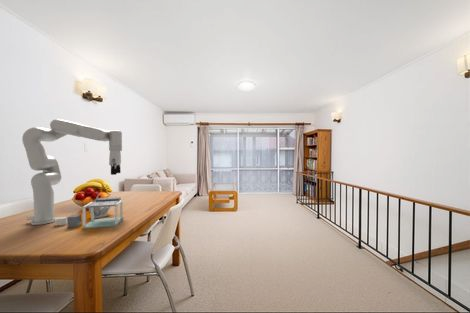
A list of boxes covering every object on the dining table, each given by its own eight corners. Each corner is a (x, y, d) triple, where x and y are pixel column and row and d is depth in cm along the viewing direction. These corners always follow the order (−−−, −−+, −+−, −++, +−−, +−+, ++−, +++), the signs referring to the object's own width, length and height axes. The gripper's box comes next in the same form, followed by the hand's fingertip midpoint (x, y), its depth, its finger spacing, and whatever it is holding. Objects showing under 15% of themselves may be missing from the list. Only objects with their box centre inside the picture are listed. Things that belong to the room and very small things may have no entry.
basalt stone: (67, 227, 120) (67, 217, 120) (71, 224, 125) (71, 214, 125) (77, 226, 122) (77, 216, 122) (81, 223, 127) (81, 214, 126)
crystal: (113, 214, 145) (113, 193, 145) (91, 219, 135) (91, 196, 134) (108, 212, 151) (108, 192, 151) (87, 216, 141) (86, 195, 141)
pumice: (55, 226, 123) (55, 219, 123) (57, 224, 126) (56, 217, 126) (66, 224, 126) (65, 218, 125) (67, 222, 129) (67, 216, 129)
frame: (81, 228, 118) (81, 207, 118) (92, 220, 132) (92, 201, 132) (116, 225, 123) (116, 205, 122) (123, 218, 137) (123, 199, 137)
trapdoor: (86, 211, 120) (86, 204, 120) (97, 204, 136) (97, 198, 136) (114, 209, 124) (114, 202, 124) (122, 202, 140) (122, 197, 140)
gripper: (113, 148, 146) (113, 172, 146) (105, 148, 129) (105, 175, 129) (124, 148, 148) (125, 172, 148) (118, 148, 131) (118, 175, 131)
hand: (115, 173), depth 139 cm, fingers open, 9 cm apart
